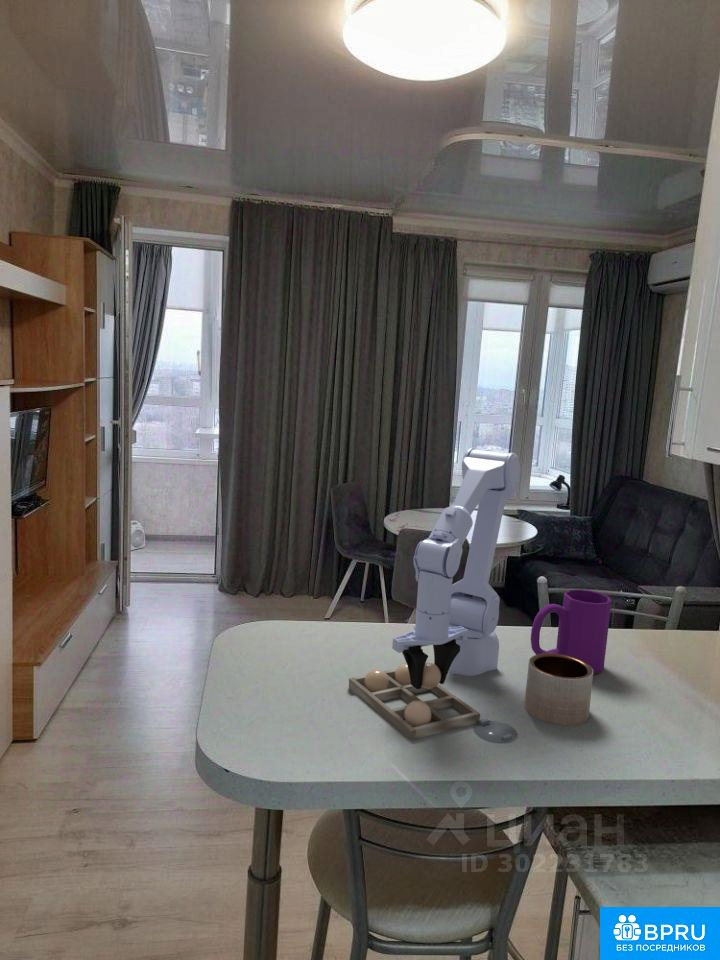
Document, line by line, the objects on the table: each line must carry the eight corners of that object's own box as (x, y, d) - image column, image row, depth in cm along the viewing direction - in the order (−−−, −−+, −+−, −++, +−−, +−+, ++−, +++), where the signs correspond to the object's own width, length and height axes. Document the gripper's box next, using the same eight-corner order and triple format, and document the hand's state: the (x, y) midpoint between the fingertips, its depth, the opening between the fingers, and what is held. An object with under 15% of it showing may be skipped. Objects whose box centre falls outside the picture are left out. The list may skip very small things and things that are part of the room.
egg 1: (380, 686, 127) (381, 663, 126) (393, 696, 123) (394, 673, 122) (359, 690, 125) (360, 667, 124) (371, 701, 121) (373, 677, 120)
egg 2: (409, 680, 130) (410, 657, 129) (422, 690, 126) (424, 667, 125) (389, 684, 128) (390, 661, 127) (402, 694, 124) (404, 671, 123)
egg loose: (439, 682, 123) (440, 659, 122) (441, 694, 119) (442, 669, 118) (414, 680, 123) (415, 657, 123) (415, 692, 119) (417, 668, 118)
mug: (611, 676, 139) (620, 604, 137) (536, 675, 137) (543, 602, 135) (591, 657, 148) (599, 589, 146) (521, 656, 146) (527, 587, 144)
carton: (410, 680, 132) (412, 665, 131) (478, 730, 115) (480, 713, 114) (348, 694, 125) (349, 678, 125) (410, 749, 108) (411, 731, 108)
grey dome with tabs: (496, 725, 117) (497, 713, 117) (526, 745, 111) (527, 733, 111) (463, 734, 113) (464, 722, 113) (492, 756, 107) (493, 743, 107)
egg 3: (420, 718, 116) (422, 693, 115) (435, 730, 112) (437, 705, 111) (398, 723, 114) (399, 698, 113) (413, 736, 110) (415, 710, 109)
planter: (569, 701, 127) (575, 651, 126) (600, 732, 117) (606, 678, 115) (513, 703, 125) (518, 653, 124) (539, 734, 115) (544, 680, 113)
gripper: (452, 597, 126) (447, 668, 128) (384, 606, 119) (380, 681, 121) (477, 609, 120) (471, 683, 122) (407, 620, 113) (402, 699, 115)
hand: (427, 684), depth 121 cm, fingers closed on egg loose, 4 cm apart
